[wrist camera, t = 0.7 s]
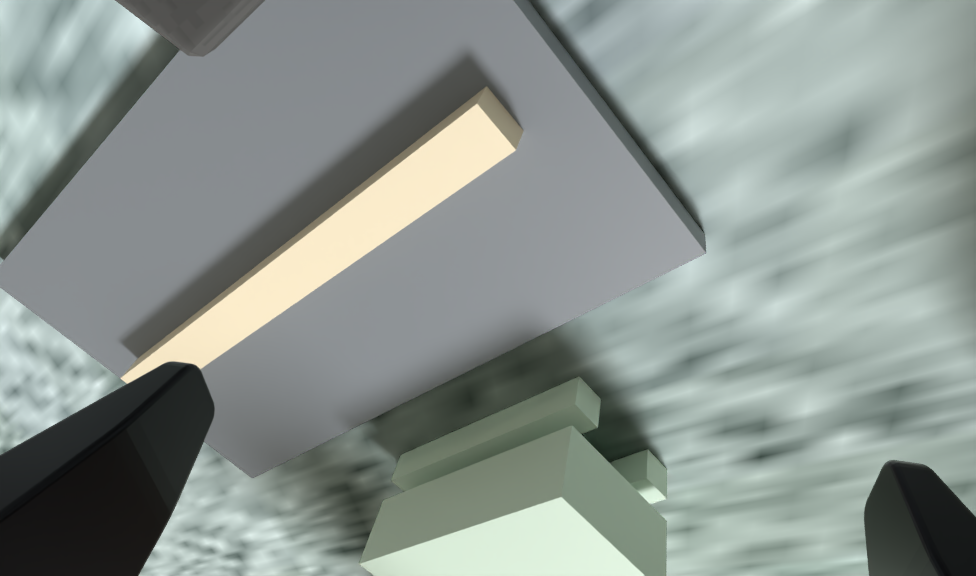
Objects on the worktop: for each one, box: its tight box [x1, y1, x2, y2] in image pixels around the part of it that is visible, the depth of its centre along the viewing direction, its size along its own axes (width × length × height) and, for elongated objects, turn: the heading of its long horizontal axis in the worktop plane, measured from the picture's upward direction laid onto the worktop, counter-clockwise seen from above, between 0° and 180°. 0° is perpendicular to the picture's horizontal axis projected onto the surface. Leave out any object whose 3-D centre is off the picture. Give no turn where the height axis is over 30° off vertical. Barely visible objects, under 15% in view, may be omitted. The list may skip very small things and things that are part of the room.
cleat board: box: [0, 0, 706, 478], centre depth 24 cm, size 14×24×2 cm, turn 131°
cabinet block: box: [359, 377, 667, 576], centre depth 28 cm, size 6×11×6 cm, turn 131°
